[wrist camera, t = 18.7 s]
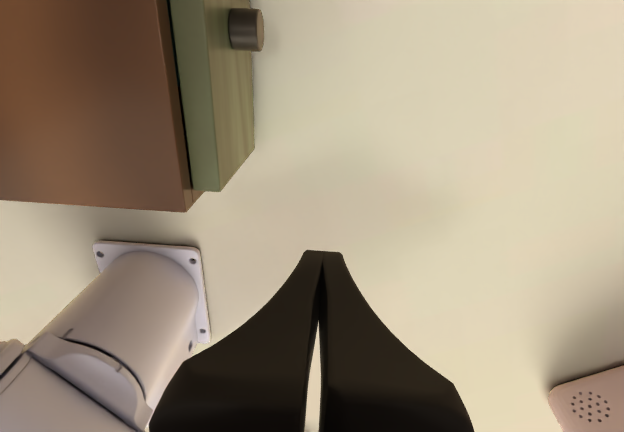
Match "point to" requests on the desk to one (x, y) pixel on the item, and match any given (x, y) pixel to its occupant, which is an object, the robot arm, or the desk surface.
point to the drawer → (216, 84)
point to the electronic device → (590, 403)
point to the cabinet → (91, 106)
